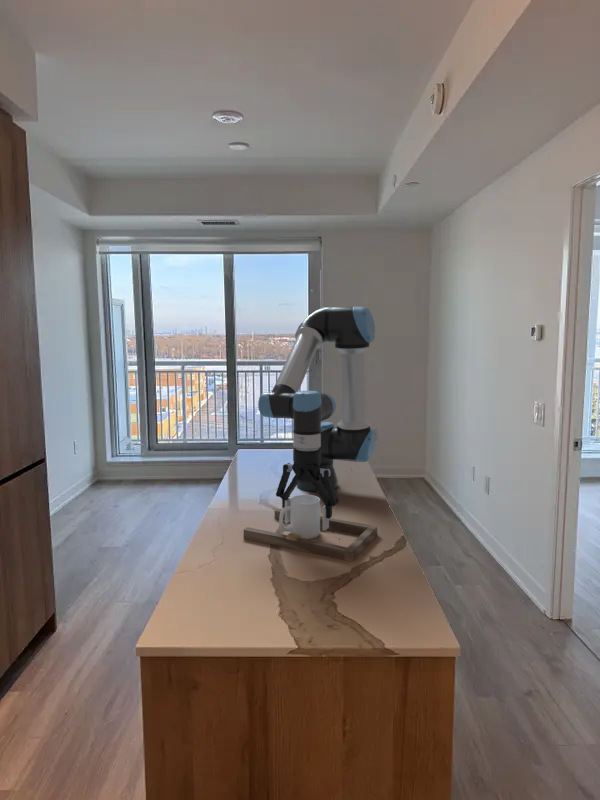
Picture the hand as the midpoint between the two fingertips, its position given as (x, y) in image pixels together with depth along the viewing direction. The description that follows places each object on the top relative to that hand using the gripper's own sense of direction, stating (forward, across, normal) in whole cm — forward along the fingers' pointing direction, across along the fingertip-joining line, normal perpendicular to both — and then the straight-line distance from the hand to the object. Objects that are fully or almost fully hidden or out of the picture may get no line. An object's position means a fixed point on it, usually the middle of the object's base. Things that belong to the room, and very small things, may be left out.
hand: (306, 525), depth 145 cm
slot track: (+3, +1, +2) cm, 4 cm away
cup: (+3, -2, 0) cm, 4 cm away
